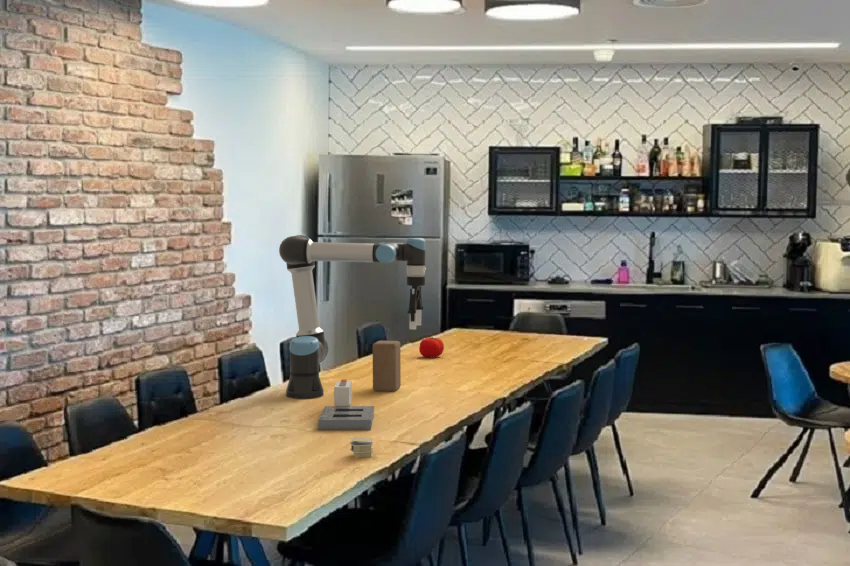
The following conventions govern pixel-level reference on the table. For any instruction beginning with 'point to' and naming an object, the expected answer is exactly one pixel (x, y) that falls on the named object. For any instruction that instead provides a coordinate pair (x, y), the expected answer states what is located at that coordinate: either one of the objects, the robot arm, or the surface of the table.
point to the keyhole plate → (346, 418)
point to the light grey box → (343, 393)
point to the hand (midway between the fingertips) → (415, 327)
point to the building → (361, 446)
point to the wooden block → (386, 366)
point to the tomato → (431, 347)
